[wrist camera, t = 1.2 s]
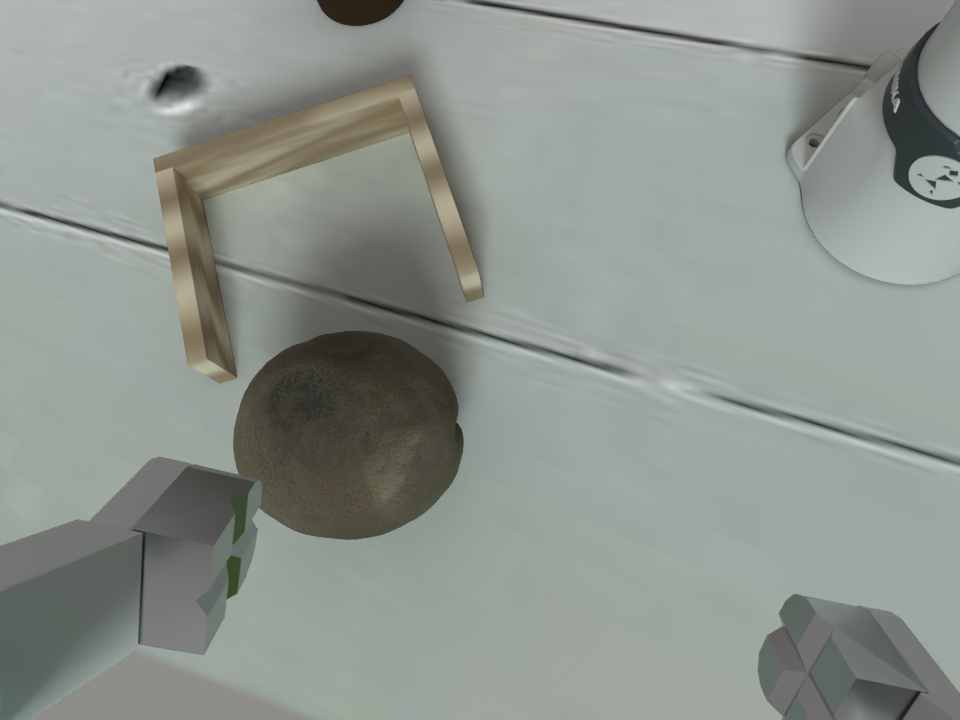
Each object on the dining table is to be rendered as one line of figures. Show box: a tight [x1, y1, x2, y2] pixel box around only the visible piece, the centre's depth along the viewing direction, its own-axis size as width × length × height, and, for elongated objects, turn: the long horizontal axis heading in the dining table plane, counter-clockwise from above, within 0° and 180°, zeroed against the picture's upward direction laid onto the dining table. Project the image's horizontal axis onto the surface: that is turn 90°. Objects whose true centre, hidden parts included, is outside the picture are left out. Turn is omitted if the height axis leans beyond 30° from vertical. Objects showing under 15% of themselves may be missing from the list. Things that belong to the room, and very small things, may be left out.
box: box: [153, 75, 484, 383], centre depth 54 cm, size 20×23×5 cm
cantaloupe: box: [233, 331, 464, 540], centre depth 43 cm, size 14×14×15 cm
